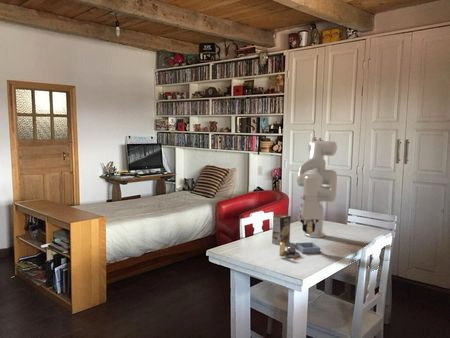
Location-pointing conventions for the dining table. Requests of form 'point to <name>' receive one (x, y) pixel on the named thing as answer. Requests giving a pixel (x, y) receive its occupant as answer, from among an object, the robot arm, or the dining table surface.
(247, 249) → the dining table surface
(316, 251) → the tray
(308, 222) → the stop peg
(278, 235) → the coffee box
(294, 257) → the crank base
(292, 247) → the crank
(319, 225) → the robot arm
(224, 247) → the dining table surface
